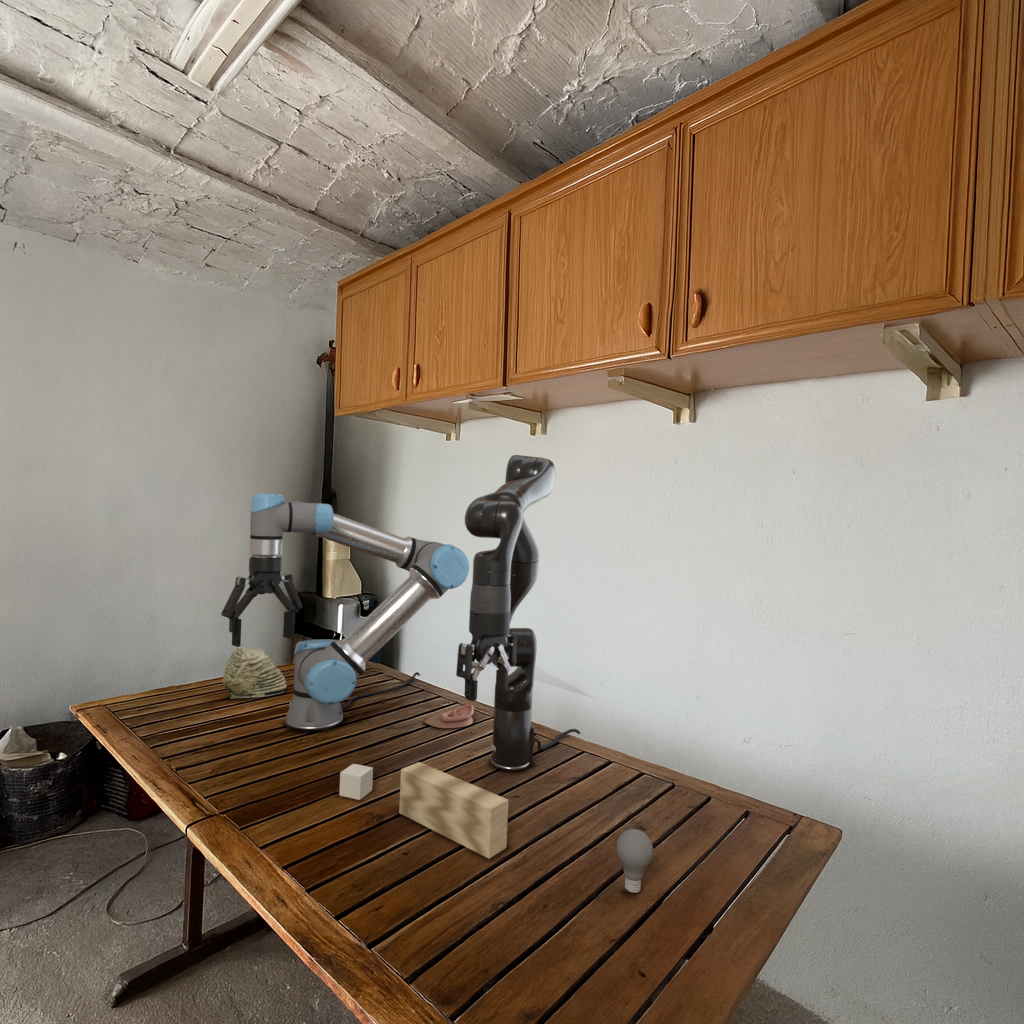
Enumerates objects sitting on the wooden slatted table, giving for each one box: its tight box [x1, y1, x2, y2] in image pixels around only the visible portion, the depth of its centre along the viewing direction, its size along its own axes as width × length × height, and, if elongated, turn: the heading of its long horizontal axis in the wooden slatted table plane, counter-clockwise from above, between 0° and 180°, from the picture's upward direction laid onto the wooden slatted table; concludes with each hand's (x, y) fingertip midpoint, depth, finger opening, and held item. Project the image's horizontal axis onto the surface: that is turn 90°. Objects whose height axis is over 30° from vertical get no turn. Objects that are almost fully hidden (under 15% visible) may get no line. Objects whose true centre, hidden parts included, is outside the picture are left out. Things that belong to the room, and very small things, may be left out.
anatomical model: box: [424, 704, 475, 729], centre depth 181 cm, size 13×4×12 cm
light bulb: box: [615, 828, 654, 894], centre depth 106 cm, size 6×6×10 cm
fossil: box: [222, 646, 288, 699], centre depth 198 cm, size 9×18×15 cm, turn 132°
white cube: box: [338, 763, 374, 801], centre depth 136 cm, size 5×5×5 cm
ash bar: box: [398, 761, 509, 859], centre depth 123 cm, size 24×5×9 cm, turn 52°
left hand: (262, 641), depth 157 cm, fingers open, 13 cm apart
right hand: (486, 694), depth 117 cm, fingers open, 8 cm apart
